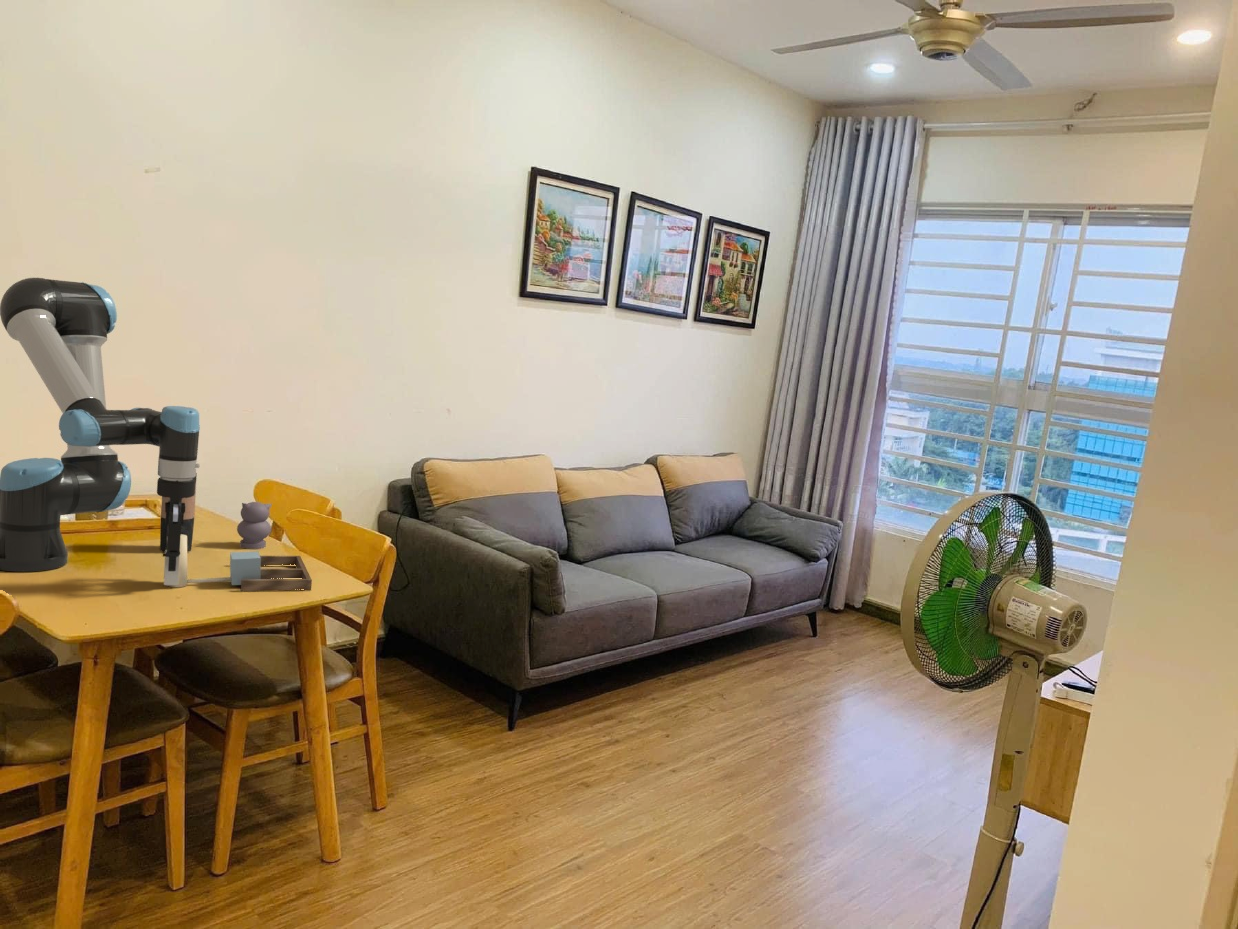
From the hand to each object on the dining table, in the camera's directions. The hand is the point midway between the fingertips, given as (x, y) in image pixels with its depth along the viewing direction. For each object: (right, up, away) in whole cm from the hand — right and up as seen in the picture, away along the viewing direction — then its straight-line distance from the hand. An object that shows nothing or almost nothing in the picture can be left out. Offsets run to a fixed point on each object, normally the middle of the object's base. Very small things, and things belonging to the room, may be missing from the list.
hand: (170, 581), depth 202 cm
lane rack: (+17, -1, +15) cm, 22 cm away
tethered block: (+8, -1, +4) cm, 9 cm away
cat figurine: (+2, +4, +41) cm, 41 cm away
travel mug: (-13, +4, +29) cm, 32 cm away
